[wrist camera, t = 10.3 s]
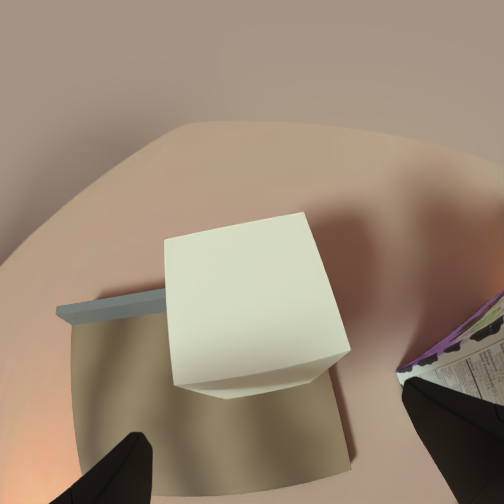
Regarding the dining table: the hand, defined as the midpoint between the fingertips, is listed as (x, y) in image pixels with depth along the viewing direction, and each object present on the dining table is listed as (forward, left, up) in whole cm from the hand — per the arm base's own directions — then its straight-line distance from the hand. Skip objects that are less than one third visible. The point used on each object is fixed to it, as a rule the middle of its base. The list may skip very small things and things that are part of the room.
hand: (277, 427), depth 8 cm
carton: (+1, -5, -11) cm, 12 cm away
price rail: (+8, -8, -12) cm, 17 cm away
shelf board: (+6, 0, -12) cm, 13 cm away
